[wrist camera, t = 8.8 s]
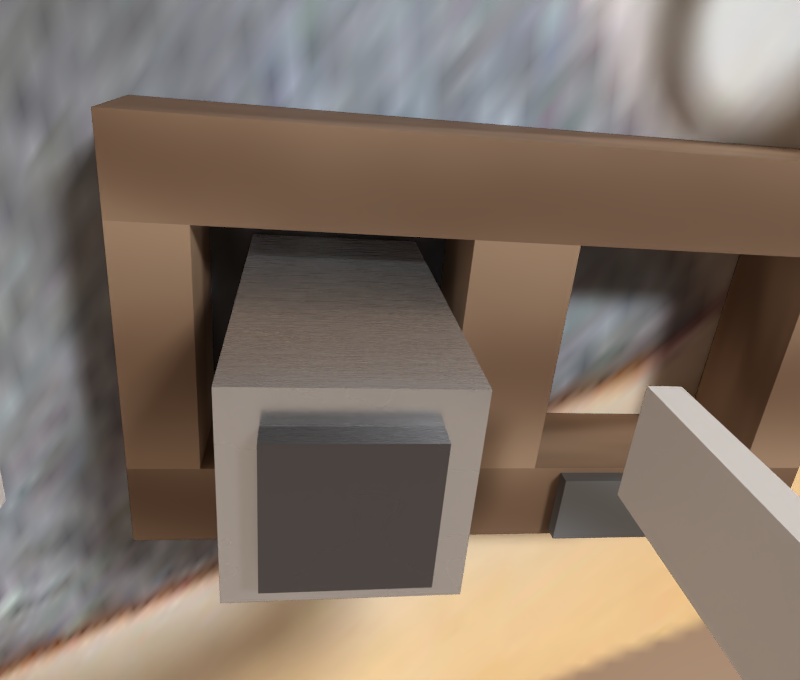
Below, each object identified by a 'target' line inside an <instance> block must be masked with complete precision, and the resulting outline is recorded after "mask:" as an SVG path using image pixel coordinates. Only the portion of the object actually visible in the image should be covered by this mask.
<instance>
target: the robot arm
mask: <svg viewBox="0 0 800 680" xmlns="http://www.w3.org/2000/svg"><path fill="white" fill-rule="evenodd" d="M617 495H618V496H619V498H620V499H621V501H622V502H623V504H624V505H625V507H626V508H627V510H628V511H629V513H630V514H631V516H632V517H633V518H634V520H635V521H636V523H637V524H638V526H639V527H640V529H641V530H642V532H643V533H644V535H645V536H646V538H647V539H648V541H649V542H650V544H651V545H652V547H653V548H654V549H655V551H656V552H657V554H658V555H659V557H660V558H661V560H662V561H663V563H664V564H665V566H666V567H667V569H668V570H669V572H670V573H671V575H672V576H673V578H674V579H675V581H676V582H677V583H678V585H679V586H680V588H681V589H682V591H683V592H684V594H685V595H686V597H687V598H688V600H689V601H690V603H691V604H692V606H693V607H694V609H695V610H696V612H697V613H698V615H699V616H700V617H701V619H702V620H703V622H704V623H705V625H706V626H707V628H708V629H709V631H710V632H711V634H712V635H713V637H714V638H715V640H716V641H717V643H718V644H719V645H720V647H721V648H722V650H723V651H724V653H725V654H726V656H727V657H728V659H729V660H730V662H731V663H732V665H733V666H734V668H735V669H736V671H737V672H738V674H739V675H740V677H741V678H742V679H743V680H800V497H799V496H798V495H797V494H796V493H795V492H794V491H793V490H792V489H791V488H789V487H788V486H787V485H786V484H785V483H784V482H783V481H782V480H781V479H780V478H779V477H778V476H777V475H776V474H774V473H773V472H772V471H771V470H770V469H769V468H768V467H767V466H766V465H765V464H764V463H763V462H762V461H761V460H760V459H758V458H757V457H756V456H755V455H754V454H753V453H752V452H751V451H750V450H749V449H748V448H747V447H746V446H745V445H743V444H742V443H741V442H740V441H739V440H738V439H737V438H736V437H735V436H734V435H733V434H732V433H731V432H730V431H729V430H727V429H726V428H725V427H724V426H723V425H722V424H721V423H720V422H719V421H718V420H717V419H716V418H715V417H714V416H712V415H711V414H710V413H709V412H708V411H707V410H706V409H705V408H704V407H703V406H702V405H701V404H700V403H699V402H698V401H696V400H695V399H694V398H693V397H692V396H691V395H690V394H689V393H688V392H687V391H686V390H685V389H684V388H683V387H676V386H647V389H646V392H645V396H644V400H643V403H642V407H641V411H640V414H639V418H638V422H637V425H636V429H635V433H634V436H633V440H632V443H631V447H630V451H629V454H628V458H627V462H626V465H625V469H624V473H623V476H622V480H621V484H620V487H619V491H618V494H617ZM5 500H6V498H5V493H4V487H3V482H2V477H1V472H0V508H1V507H2V505H3V503H4V502H5Z"/></svg>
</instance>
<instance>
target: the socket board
mask: <svg viewBox="0 0 800 680" xmlns="http://www.w3.org/2000/svg"><path fill="white" fill-rule="evenodd" d="M91 111H92V122H93V132H94V142H95V152H96V162H97V173H98V183H99V193H100V203H101V213H102V224H103V234H104V244H105V254H106V265H107V275H108V285H109V295H110V305H111V316H112V326H113V336H114V346H115V356H116V367H117V377H118V387H119V397H120V408H121V418H122V428H123V438H124V448H125V459H126V469H127V479H128V489H129V499H130V510H131V520H132V530H133V540H181V539H218V534H217V509H216V484H215V460H214V435H213V411H212V383H213V380H214V364H213V331H212V298H211V265H210V232H209V226H217V227H236V228H255V229H274V230H293V231H312V232H331V233H350V234H369V235H388V236H407V237H426V238H445V239H446V246H445V254H444V262H443V271H442V279H441V287H440V290H441V292H442V294H443V296H444V298H445V300H446V302H447V304H448V306H449V308H450V310H451V312H452V313H453V315H454V317H455V319H456V321H457V323H458V325H459V327H460V329H461V331H462V333H463V334H464V336H465V338H466V340H467V342H468V344H469V346H470V348H471V350H472V352H473V354H474V356H475V357H476V359H477V361H478V363H479V365H480V367H481V369H482V371H483V373H484V375H485V377H486V379H487V380H488V382H489V384H490V386H491V388H492V396H491V402H490V408H489V415H488V421H487V427H486V433H485V440H484V446H483V452H482V459H481V465H480V471H479V477H478V484H477V490H476V496H475V503H474V509H473V515H472V521H471V528H470V534H524V533H550V534H551V536H552V538H602V537H646V536H645V535H644V533H643V532H642V530H641V529H640V527H639V526H638V524H637V523H636V521H635V520H634V518H633V517H632V516H631V514H630V513H629V511H628V510H627V508H626V507H625V505H624V504H623V502H622V501H621V499H620V498H619V496H618V495H617V494H618V491H619V487H620V484H621V480H622V476H623V473H624V469H625V465H626V462H627V458H628V454H629V451H630V447H631V443H632V440H633V436H634V433H635V429H636V425H637V422H638V418H639V414H575V413H546V412H547V407H548V402H549V397H550V392H551V387H552V383H553V378H554V373H555V368H556V363H557V359H558V354H559V349H560V344H561V339H562V334H563V330H564V325H565V320H566V315H567V310H568V306H569V301H570V296H571V291H572V286H573V281H574V277H575V272H576V267H577V262H578V257H579V253H580V248H581V246H597V247H616V248H635V249H654V250H672V251H691V252H710V253H729V254H740V256H739V259H738V262H737V265H736V269H735V272H734V275H733V278H732V282H731V285H730V288H729V291H728V294H727V298H726V301H725V304H724V307H723V310H722V314H721V317H720V320H719V323H718V327H717V330H716V333H715V336H714V339H713V343H712V346H711V349H710V352H709V355H708V359H707V362H706V365H705V368H704V372H703V375H702V378H701V381H700V384H699V388H698V391H697V394H696V397H695V400H696V401H698V402H699V403H700V404H701V405H702V406H703V407H704V408H705V409H706V410H707V411H708V412H709V413H710V414H711V415H712V416H714V417H715V418H716V419H717V420H718V421H719V422H720V423H721V424H722V425H723V426H724V427H725V428H726V429H727V430H729V431H730V432H731V433H732V434H733V435H734V436H735V437H736V438H737V439H738V440H739V441H740V442H741V443H742V444H743V445H745V446H746V447H747V448H748V449H749V450H750V451H751V452H752V453H753V454H754V455H755V456H756V457H757V458H758V459H760V460H761V461H762V462H763V463H764V464H765V465H766V466H767V467H768V468H769V469H770V470H771V471H772V472H773V473H774V474H776V475H777V476H778V477H779V478H780V479H781V480H782V481H783V482H784V483H785V484H786V485H787V486H788V487H789V488H791V486H792V483H793V481H794V478H795V476H796V473H797V471H798V469H799V466H800V149H792V148H780V147H768V146H755V145H743V144H730V143H718V142H706V141H693V140H681V139H669V138H656V137H644V136H631V135H619V134H607V133H594V132H582V131H569V130H557V129H545V128H532V127H520V126H507V125H495V124H483V123H470V122H458V121H445V120H433V119H421V118H408V117H396V116H384V115H371V114H359V113H346V112H334V111H322V110H309V109H297V108H284V107H272V106H260V105H247V104H235V103H222V102H210V101H198V100H185V99H173V98H160V97H148V96H136V95H126V96H123V97H120V98H117V99H114V100H111V101H108V102H105V103H102V104H98V105H95V106H92V107H91Z"/></svg>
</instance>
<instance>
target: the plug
mask: <svg viewBox="0 0 800 680" xmlns="http://www.w3.org/2000/svg"><path fill="white" fill-rule="evenodd" d="M491 396H492V388H491V386H490V384H489V382H488V380H487V379H486V377H485V375H484V373H483V371H482V369H481V367H480V365H479V363H478V361H477V359H476V357H475V356H474V354H473V352H472V350H471V348H470V346H469V344H468V342H467V340H466V338H465V336H464V334H463V333H462V331H461V329H460V327H459V325H458V323H457V321H456V319H455V317H454V315H453V313H452V312H451V310H450V308H449V306H448V304H447V302H446V300H445V298H444V296H443V294H442V292H441V290H440V289H439V287H438V285H437V283H436V281H435V279H434V277H433V275H432V273H431V271H430V269H429V267H428V266H427V264H426V262H425V260H424V258H423V256H422V254H421V252H420V250H419V248H418V246H417V244H416V243H415V241H394V240H372V239H350V238H327V237H305V236H283V235H260V234H253V237H252V240H251V244H250V248H249V251H248V255H247V259H246V262H245V266H244V270H243V273H242V277H241V281H240V284H239V288H238V292H237V295H236V299H235V303H234V306H233V310H232V314H231V317H230V321H229V325H228V328H227V332H226V336H225V339H224V343H223V347H222V350H221V354H220V358H219V361H218V365H217V369H216V372H215V376H214V380H213V383H212V411H213V435H214V460H215V484H216V509H217V534H218V558H219V583H220V603H234V602H261V601H288V600H315V599H342V598H368V597H395V596H422V595H449V594H460V591H461V584H462V578H463V572H464V565H465V559H466V553H467V547H468V540H469V534H470V528H471V521H472V515H473V509H474V503H475V496H476V490H477V484H478V477H479V471H480V465H481V459H482V452H483V446H484V440H485V433H486V427H487V421H488V415H489V408H490V402H491Z"/></svg>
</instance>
